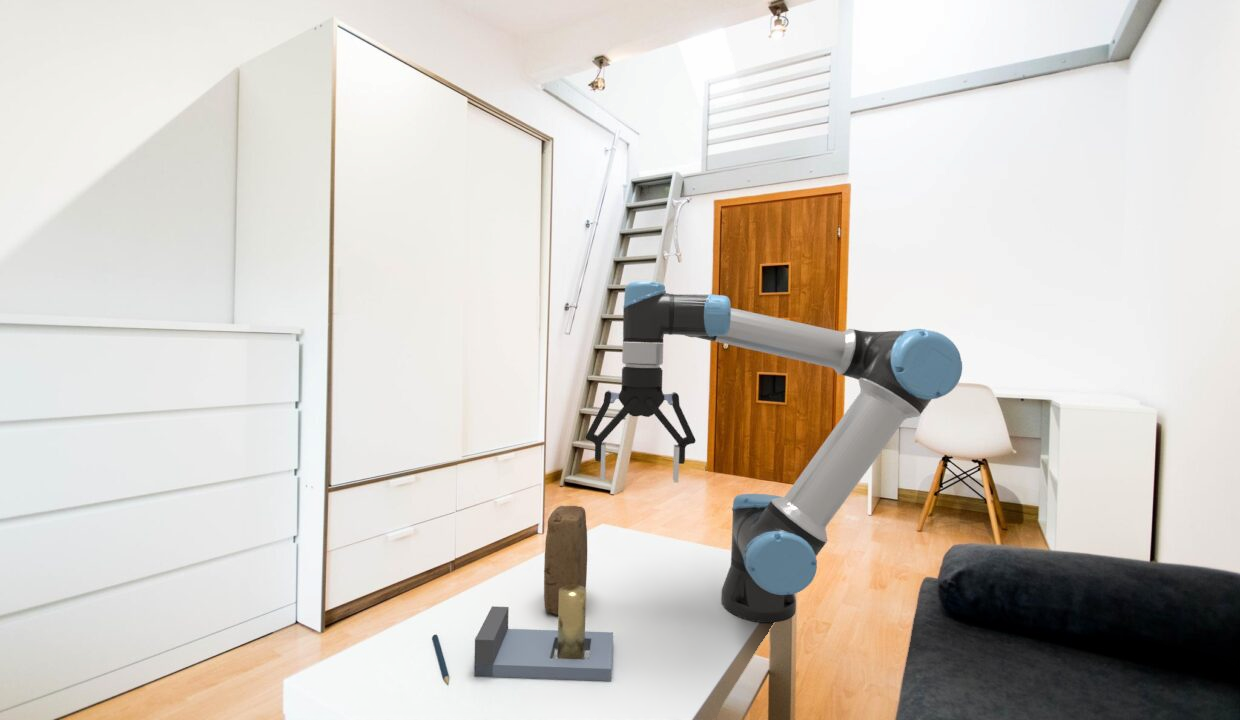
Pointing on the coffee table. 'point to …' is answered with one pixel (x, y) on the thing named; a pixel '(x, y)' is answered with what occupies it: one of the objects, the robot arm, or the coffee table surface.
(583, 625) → the brass cylinder rod
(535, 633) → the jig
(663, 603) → the coffee table surface
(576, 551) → the block
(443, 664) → the pencil
